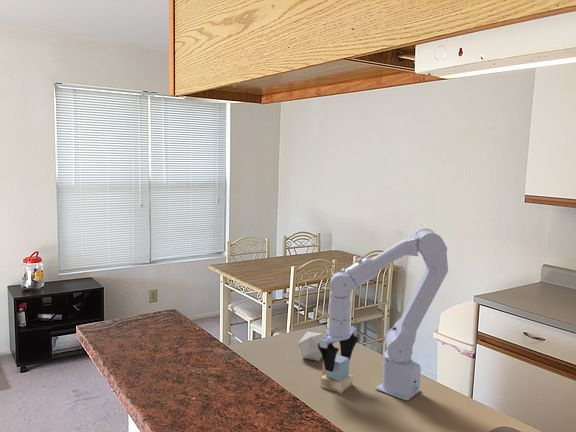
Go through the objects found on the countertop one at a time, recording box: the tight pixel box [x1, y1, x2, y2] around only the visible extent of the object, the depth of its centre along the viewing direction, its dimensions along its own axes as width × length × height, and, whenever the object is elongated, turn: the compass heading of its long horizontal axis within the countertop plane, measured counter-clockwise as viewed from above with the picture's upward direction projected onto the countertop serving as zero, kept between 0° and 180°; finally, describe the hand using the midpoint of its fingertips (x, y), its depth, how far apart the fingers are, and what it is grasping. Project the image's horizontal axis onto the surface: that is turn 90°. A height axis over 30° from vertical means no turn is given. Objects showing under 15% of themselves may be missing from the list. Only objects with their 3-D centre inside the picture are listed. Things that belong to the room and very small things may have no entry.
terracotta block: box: [321, 360, 326, 376], centre depth 138 cm, size 4×4×4 cm
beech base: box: [320, 374, 354, 394], centre depth 131 cm, size 6×6×3 cm
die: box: [297, 331, 325, 362], centre depth 149 cm, size 8×9×10 cm
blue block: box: [325, 353, 350, 381], centre depth 131 cm, size 4×4×5 cm
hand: (337, 366), depth 131 cm, fingers open, 7 cm apart
